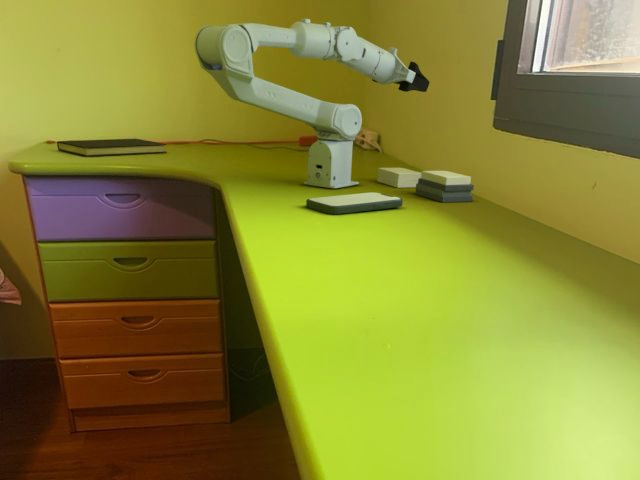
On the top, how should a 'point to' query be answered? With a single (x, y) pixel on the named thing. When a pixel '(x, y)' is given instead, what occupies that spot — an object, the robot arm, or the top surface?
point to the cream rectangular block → (398, 177)
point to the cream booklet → (446, 177)
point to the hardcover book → (111, 147)
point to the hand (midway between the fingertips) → (415, 83)
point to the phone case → (354, 203)
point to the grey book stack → (444, 191)
